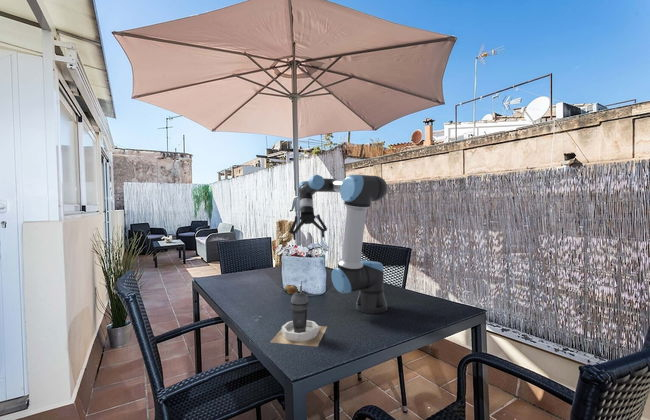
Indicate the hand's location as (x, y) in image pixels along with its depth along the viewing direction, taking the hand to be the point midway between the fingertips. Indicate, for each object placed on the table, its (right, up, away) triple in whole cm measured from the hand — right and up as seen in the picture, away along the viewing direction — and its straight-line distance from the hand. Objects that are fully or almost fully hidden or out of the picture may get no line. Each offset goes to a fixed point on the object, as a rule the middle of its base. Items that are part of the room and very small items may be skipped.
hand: (309, 244), depth 164 cm
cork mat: (-1, -31, -43) cm, 53 cm away
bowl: (-1, -30, -43) cm, 53 cm away
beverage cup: (-1, -29, -43) cm, 52 cm away
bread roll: (-10, -30, +16) cm, 35 cm away
